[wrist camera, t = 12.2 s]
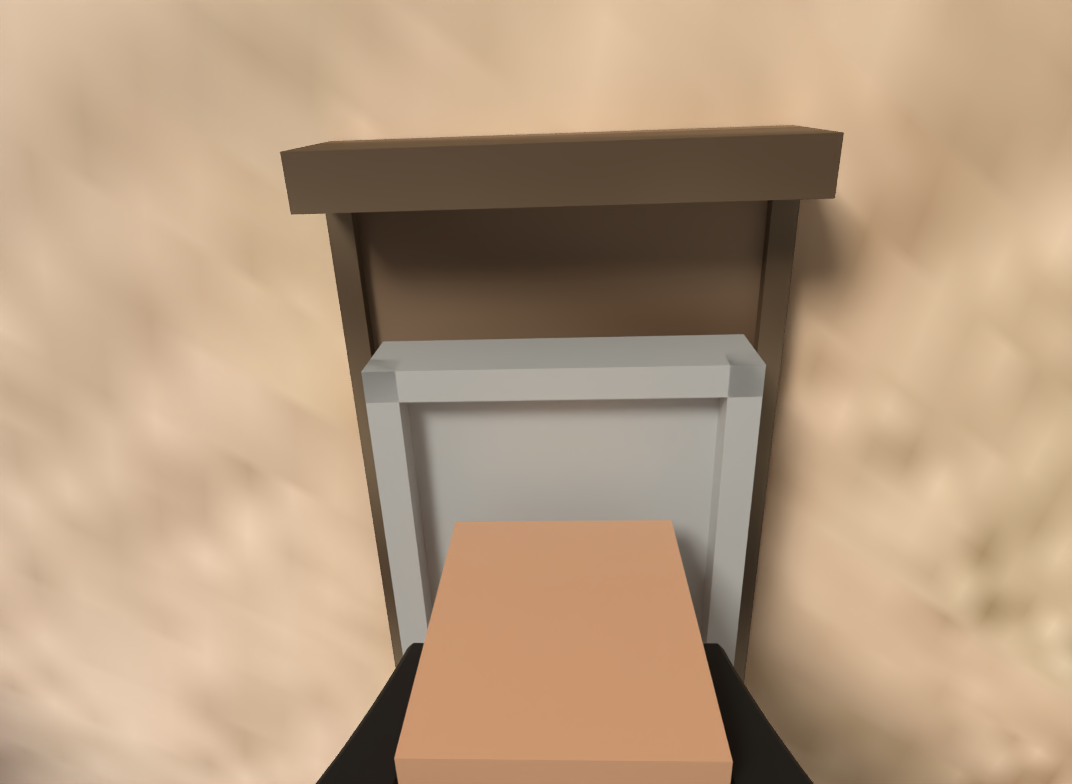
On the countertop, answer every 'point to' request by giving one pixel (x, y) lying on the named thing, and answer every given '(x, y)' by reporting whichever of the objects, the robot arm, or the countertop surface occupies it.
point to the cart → (567, 450)
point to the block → (563, 662)
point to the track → (567, 250)
